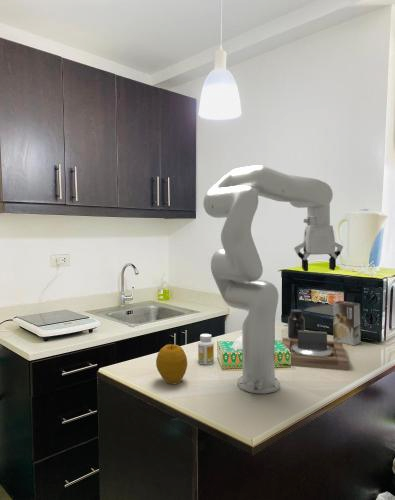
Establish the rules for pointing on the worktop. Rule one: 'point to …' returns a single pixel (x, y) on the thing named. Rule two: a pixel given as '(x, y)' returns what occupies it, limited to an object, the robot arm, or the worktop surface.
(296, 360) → the dial housing
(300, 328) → the supplement bottle
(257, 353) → the robot arm
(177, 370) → the apple
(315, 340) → the dial
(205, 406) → the worktop surface
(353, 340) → the coffee box
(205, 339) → the supplement bottle
